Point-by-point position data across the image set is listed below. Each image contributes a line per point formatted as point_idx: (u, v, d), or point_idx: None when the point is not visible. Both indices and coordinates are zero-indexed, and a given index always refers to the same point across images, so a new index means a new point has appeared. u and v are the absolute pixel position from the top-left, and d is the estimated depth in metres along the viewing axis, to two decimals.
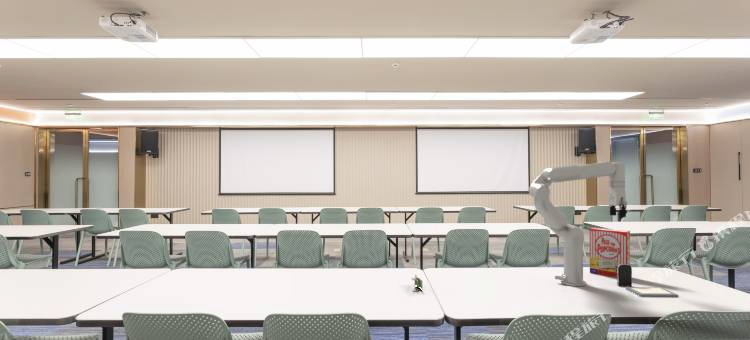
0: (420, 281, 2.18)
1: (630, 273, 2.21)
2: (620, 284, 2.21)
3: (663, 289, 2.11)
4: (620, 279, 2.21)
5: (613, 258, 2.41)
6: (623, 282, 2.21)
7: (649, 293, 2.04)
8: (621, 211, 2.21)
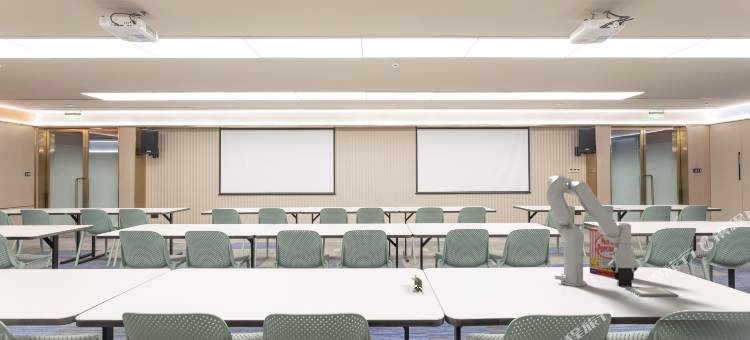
0: (420, 281, 2.18)
1: (630, 273, 2.21)
2: (620, 284, 2.21)
3: (663, 289, 2.11)
4: (620, 279, 2.21)
5: None
6: (623, 282, 2.21)
7: (649, 293, 2.04)
8: (633, 274, 2.22)
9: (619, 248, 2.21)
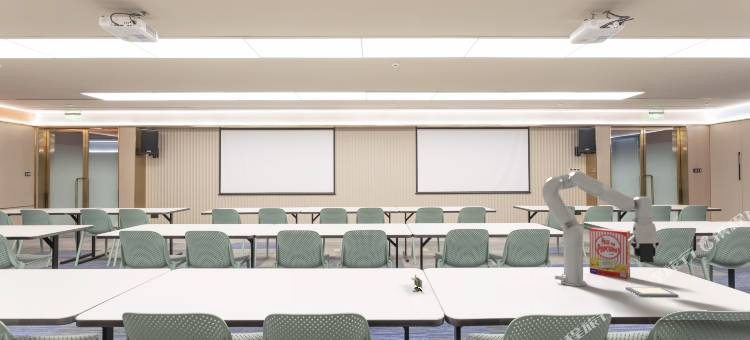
0: (420, 281, 2.18)
1: (652, 249, 2.10)
2: (641, 261, 2.10)
3: (663, 289, 2.11)
4: (641, 255, 2.10)
5: (613, 258, 2.41)
6: (645, 258, 2.10)
7: (649, 293, 2.04)
8: (654, 249, 2.11)
9: (640, 222, 2.10)
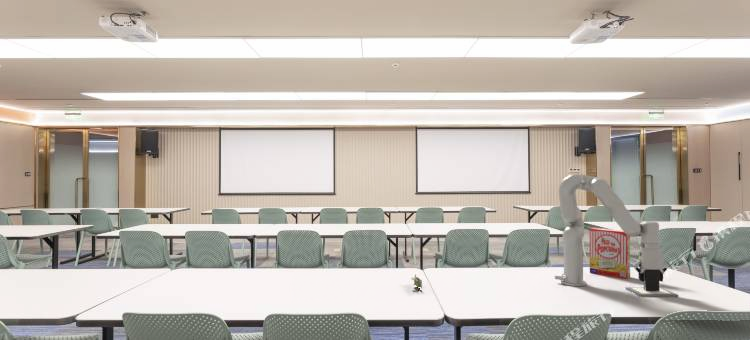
0: (420, 281, 2.18)
1: (658, 277, 2.07)
2: (647, 289, 2.07)
3: (663, 289, 2.11)
4: (647, 284, 2.07)
5: (613, 258, 2.41)
6: (650, 287, 2.07)
7: (649, 293, 2.04)
8: None
9: (646, 248, 2.07)
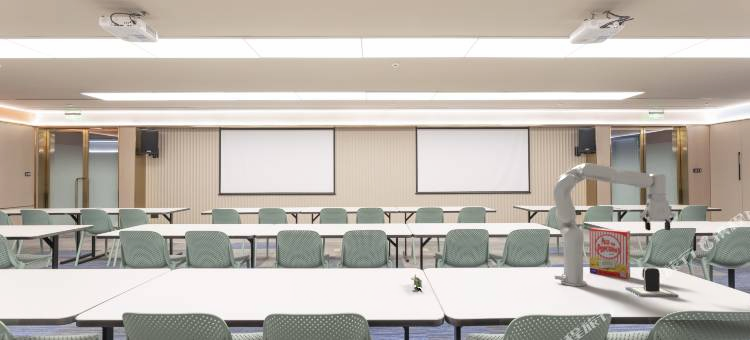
0: (419, 281, 2.18)
1: (658, 277, 2.07)
2: (647, 290, 2.07)
3: (663, 289, 2.11)
4: (647, 284, 2.07)
5: (613, 258, 2.41)
6: (650, 287, 2.07)
7: (649, 293, 2.04)
8: (669, 224, 2.16)
9: (653, 199, 2.16)
